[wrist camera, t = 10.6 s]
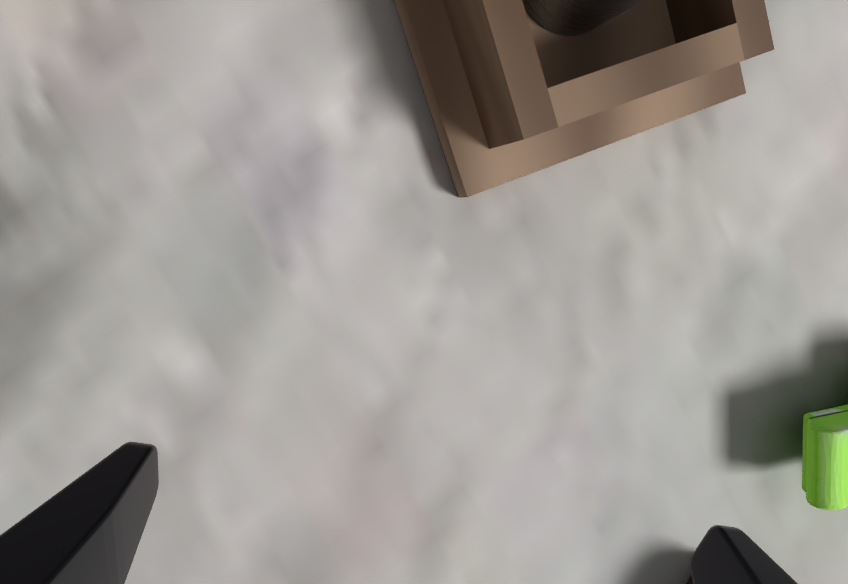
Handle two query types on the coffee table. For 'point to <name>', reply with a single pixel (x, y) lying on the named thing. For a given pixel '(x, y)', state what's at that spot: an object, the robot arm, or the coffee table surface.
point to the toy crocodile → (826, 458)
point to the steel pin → (575, 14)
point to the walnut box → (569, 77)
